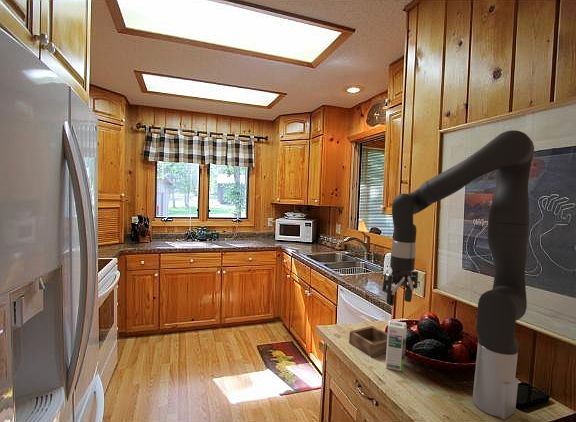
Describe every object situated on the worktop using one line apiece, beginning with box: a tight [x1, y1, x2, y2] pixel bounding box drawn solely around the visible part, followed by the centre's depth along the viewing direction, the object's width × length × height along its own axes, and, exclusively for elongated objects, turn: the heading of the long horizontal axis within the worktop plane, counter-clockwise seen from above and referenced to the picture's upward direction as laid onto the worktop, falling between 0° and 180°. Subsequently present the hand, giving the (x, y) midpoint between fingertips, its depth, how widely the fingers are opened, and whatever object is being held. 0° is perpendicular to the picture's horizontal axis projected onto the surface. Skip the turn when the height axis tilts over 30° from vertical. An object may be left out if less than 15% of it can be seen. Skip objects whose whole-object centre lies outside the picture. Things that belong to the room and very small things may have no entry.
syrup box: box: [385, 319, 408, 372], centre depth 109 cm, size 6×6×14 cm
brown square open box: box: [348, 325, 388, 359], centre depth 122 cm, size 12×12×4 cm
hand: (399, 303), depth 108 cm, fingers open, 8 cm apart
